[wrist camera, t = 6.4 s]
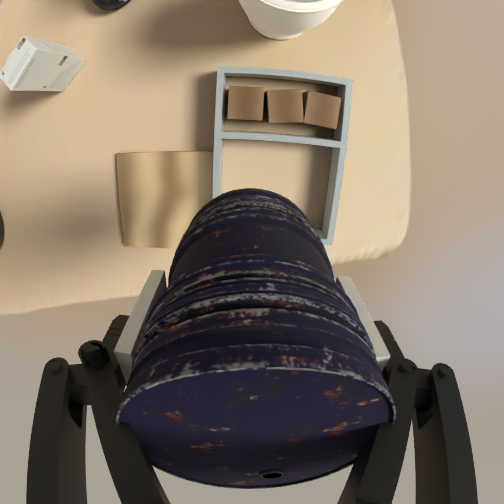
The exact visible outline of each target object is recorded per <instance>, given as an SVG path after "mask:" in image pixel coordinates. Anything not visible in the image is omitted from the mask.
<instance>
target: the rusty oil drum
mask: <svg viewBox="0 0 504 504" xmlns="http://www.w3.org/2000/svg"><path fill="white" fill-rule="evenodd" d="M395 418H396V409H395V404H394V401H393V398H392V396H391V393H390V391H389V389H388V386H387V384H386V383H385V381H384V380H383V377H382V373H381V370H380V367H379V365H378V362H377V360H376V354H375V351H374V347H373V344H372V342H371V340H370V338H369V336H368V333H367V332H366V329H365V327H364V325H363V324H362V322H361V321H360V318H359V315H358V312H357V310H356V308H355V306H354V305H353V303H352V301H351V300H350V298H349V297H348V296H347V295H346V294H345V293H344V291H343V290H342V289H341V288H340V287H339V286H338V285H337V284H336V283H335V281H334V276H333V272H332V267H331V264H330V261H329V259H328V256H327V253H326V250H325V248H324V246H323V243H322V241H321V239H320V237H319V235H318V234H317V232H316V231H315V229H314V228H313V226H312V225H311V224H310V222H309V220H308V219H307V218H306V216H305V215H304V213H303V212H302V211H301V210H300V209H299V208H298V207H297V206H296V205H295V204H294V203H293V202H291V201H290V200H289V199H287V198H285V197H283V196H281V195H279V194H277V193H274V192H271V191H268V190H263V189H256V188H244V189H238V190H233V191H229V192H226V193H223V194H221V195H219V196H217V197H215V198H213V199H212V200H210V201H209V202H208V203H206V204H205V205H204V206H203V207H202V208H201V209H200V210H199V211H198V212H197V213H196V215H195V216H194V218H193V219H192V221H191V223H190V225H189V227H188V228H187V230H186V231H185V233H184V234H183V236H182V238H181V241H180V243H179V245H178V247H177V250H176V252H175V256H174V259H173V262H172V265H171V268H170V273H169V278H168V287H167V288H166V290H165V291H164V292H163V293H162V295H161V296H160V297H159V298H158V300H157V301H156V303H155V304H154V306H153V307H152V309H151V311H150V313H149V315H148V318H147V321H146V324H145V328H144V330H143V332H142V335H141V337H140V340H139V342H138V345H137V348H136V351H135V354H134V357H133V360H132V371H131V374H130V377H129V380H128V383H127V388H126V390H125V392H124V395H123V398H122V401H121V404H120V407H119V410H118V414H117V417H116V424H117V425H119V421H120V422H125V423H130V424H131V426H132V428H133V430H134V431H135V433H136V435H137V437H138V439H139V441H140V442H141V444H142V446H143V448H144V449H145V451H146V453H147V455H148V458H149V460H150V462H151V464H152V466H154V467H156V468H157V469H159V470H162V471H164V472H166V473H169V474H171V475H173V476H176V477H179V478H182V479H185V480H189V481H192V482H196V483H201V484H205V485H211V486H217V487H226V488H240V489H259V488H274V487H283V486H289V485H295V484H299V483H304V482H308V481H312V480H316V479H319V478H322V477H325V476H328V475H331V474H333V473H336V472H338V471H340V470H342V469H344V468H347V467H349V466H351V465H352V464H354V462H355V459H356V456H357V454H358V451H359V450H360V449H361V448H362V446H363V445H364V444H365V442H366V441H367V440H368V438H369V437H370V436H371V434H372V433H373V432H374V430H375V429H376V428H377V426H378V425H379V423H383V422H388V421H391V422H392V424H394V423H395Z"/></svg>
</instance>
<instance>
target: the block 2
mask: <svg viewBox="0 0 504 504" xmlns="http://www.w3.org/2000/svg"><path fill="white" fill-rule="evenodd" d="M265 93H266V107H267V122H268V123H286V122H304V119H303V99H302V89H291V90H267V91H266V92H265Z"/></svg>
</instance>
